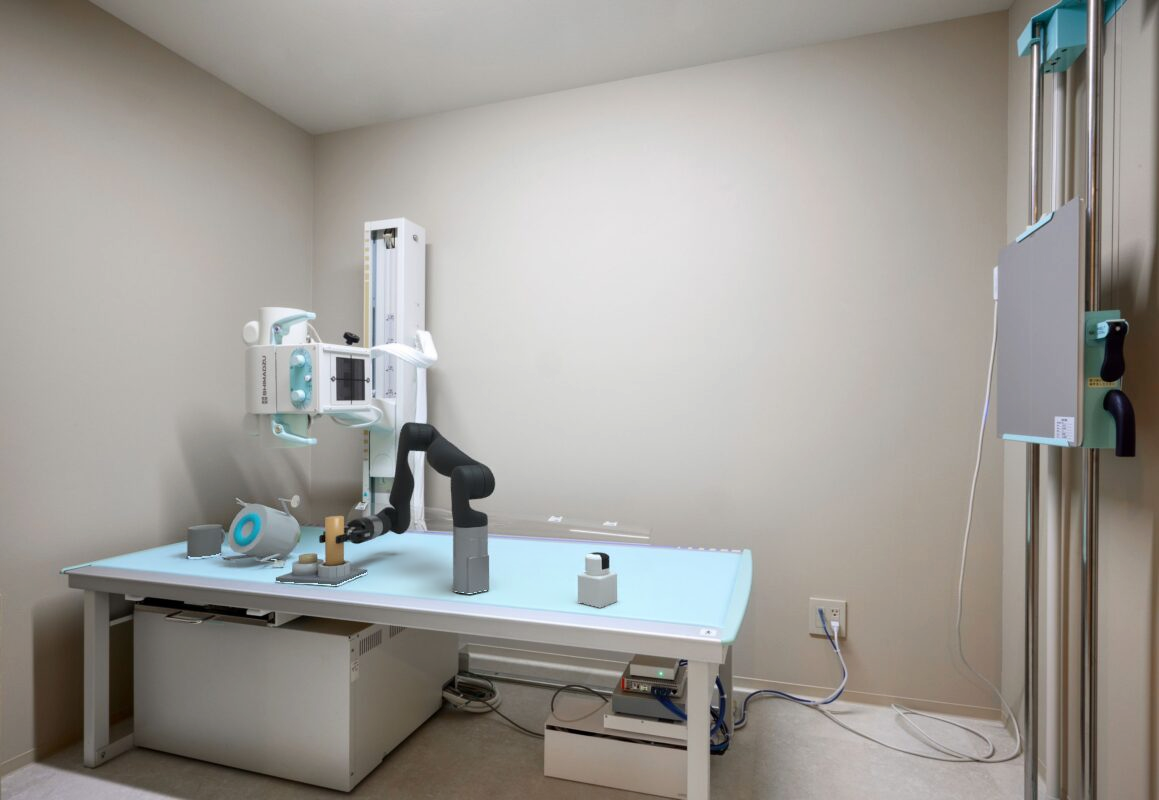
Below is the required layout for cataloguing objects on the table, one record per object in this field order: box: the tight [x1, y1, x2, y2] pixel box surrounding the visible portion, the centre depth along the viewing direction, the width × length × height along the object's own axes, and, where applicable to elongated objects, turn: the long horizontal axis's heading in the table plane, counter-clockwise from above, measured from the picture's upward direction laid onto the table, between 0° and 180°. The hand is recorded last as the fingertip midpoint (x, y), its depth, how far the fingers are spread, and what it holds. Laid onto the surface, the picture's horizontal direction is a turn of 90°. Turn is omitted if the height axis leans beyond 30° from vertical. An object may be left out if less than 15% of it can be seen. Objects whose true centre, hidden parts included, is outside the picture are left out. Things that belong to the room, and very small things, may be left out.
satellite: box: [221, 494, 302, 568], centre depth 197 cm, size 23×20×25 cm
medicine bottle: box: [577, 551, 618, 609], centre depth 148 cm, size 7×7×12 cm
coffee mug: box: [186, 523, 226, 557], centre depth 206 cm, size 13×10×10 cm
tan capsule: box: [324, 515, 345, 566], centre depth 172 cm, size 5×5×15 cm
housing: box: [275, 553, 368, 585], centre depth 173 cm, size 20×14×6 cm
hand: (328, 539), depth 170 cm, fingers closed on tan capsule, 5 cm apart
